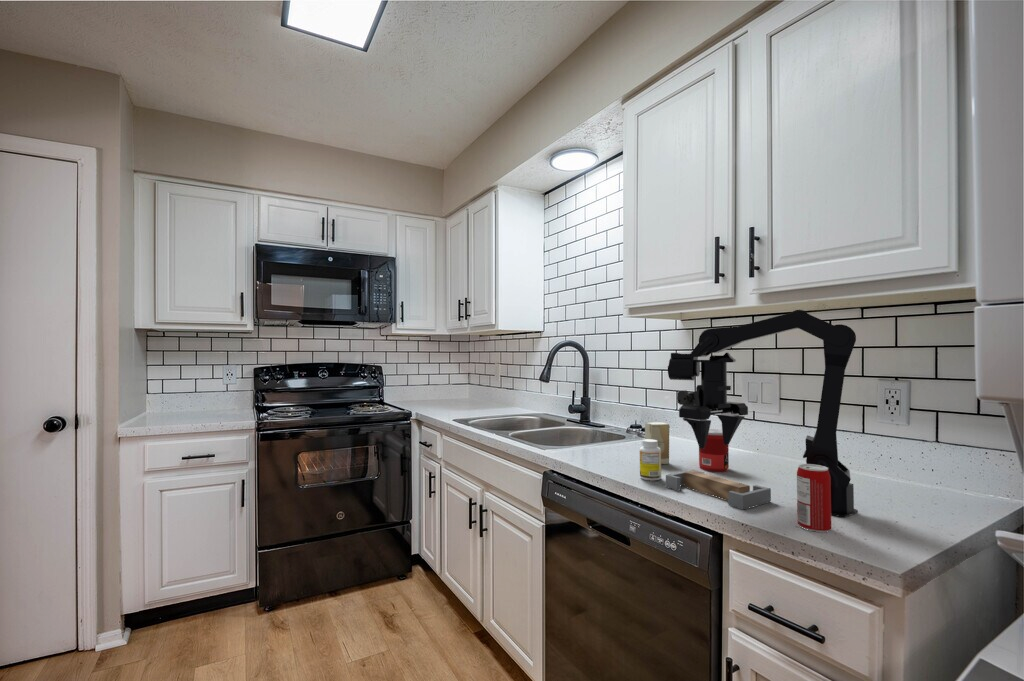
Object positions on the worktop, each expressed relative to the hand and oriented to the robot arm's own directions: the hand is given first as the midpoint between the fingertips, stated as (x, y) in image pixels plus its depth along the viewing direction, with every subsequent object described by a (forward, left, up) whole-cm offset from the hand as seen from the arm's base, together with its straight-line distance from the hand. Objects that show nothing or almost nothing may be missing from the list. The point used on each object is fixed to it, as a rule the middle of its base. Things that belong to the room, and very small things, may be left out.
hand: (714, 446), depth 118 cm
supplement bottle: (+18, +2, -12) cm, 22 cm away
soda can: (-25, +4, -12) cm, 27 cm away
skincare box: (+30, -14, -12) cm, 35 cm away
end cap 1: (+9, 0, -11) cm, 14 cm away
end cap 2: (-9, 0, -11) cm, 14 cm away
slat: (0, 0, -12) cm, 12 cm away
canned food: (+16, -22, -12) cm, 30 cm away
